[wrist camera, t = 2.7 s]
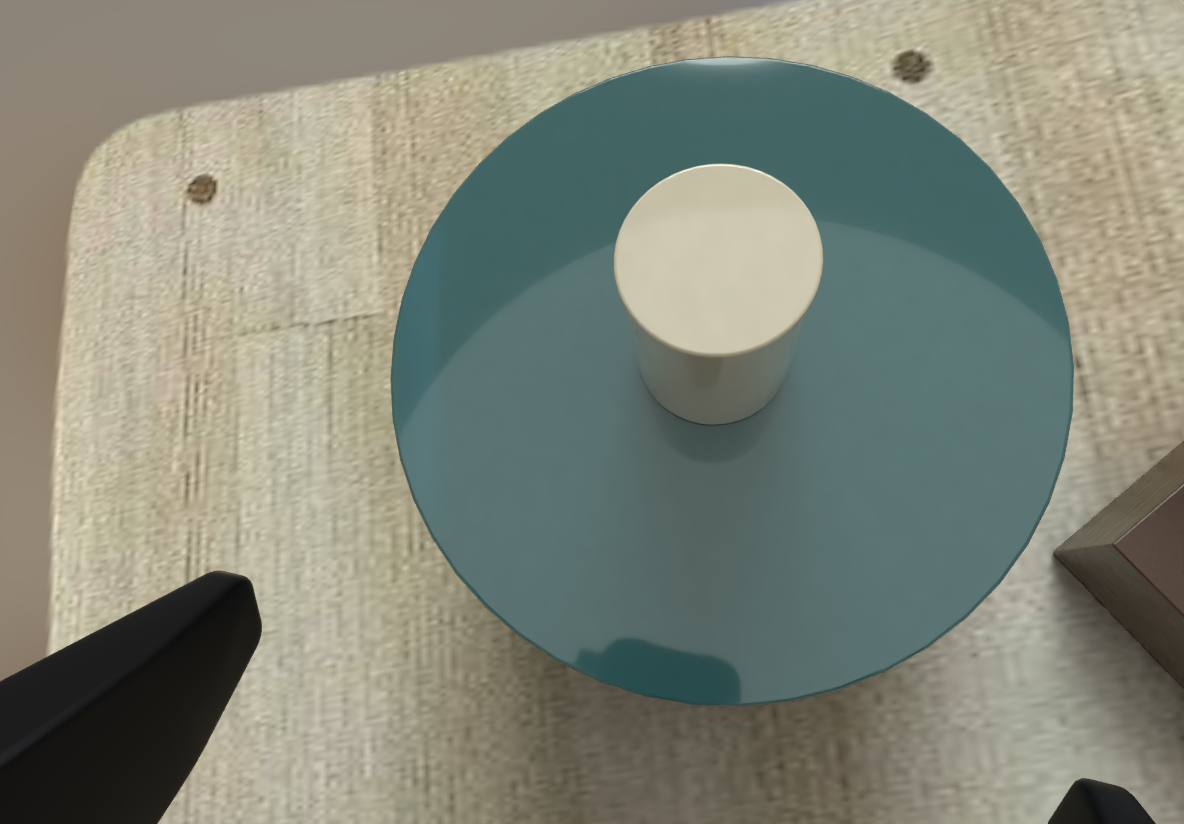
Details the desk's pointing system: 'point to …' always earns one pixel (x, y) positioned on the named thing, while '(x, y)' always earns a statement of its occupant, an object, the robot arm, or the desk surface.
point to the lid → (732, 381)
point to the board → (1140, 560)
